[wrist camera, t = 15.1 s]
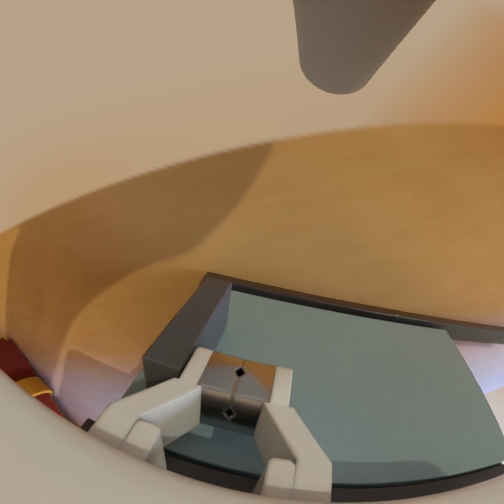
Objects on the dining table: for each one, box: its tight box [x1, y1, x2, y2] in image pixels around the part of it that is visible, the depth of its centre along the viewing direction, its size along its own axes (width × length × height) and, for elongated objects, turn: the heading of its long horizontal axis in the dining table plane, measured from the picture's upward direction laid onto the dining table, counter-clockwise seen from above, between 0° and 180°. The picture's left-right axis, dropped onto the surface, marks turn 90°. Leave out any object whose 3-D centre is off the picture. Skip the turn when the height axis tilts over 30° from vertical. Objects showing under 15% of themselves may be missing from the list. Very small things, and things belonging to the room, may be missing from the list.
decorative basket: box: [0, 338, 65, 418], centre depth 28 cm, size 34×29×15 cm
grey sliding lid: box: [121, 277, 504, 489], centre depth 11 cm, size 3×16×11 cm, turn 81°
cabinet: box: [81, 272, 504, 503], centre depth 13 cm, size 12×25×13 cm, turn 81°
